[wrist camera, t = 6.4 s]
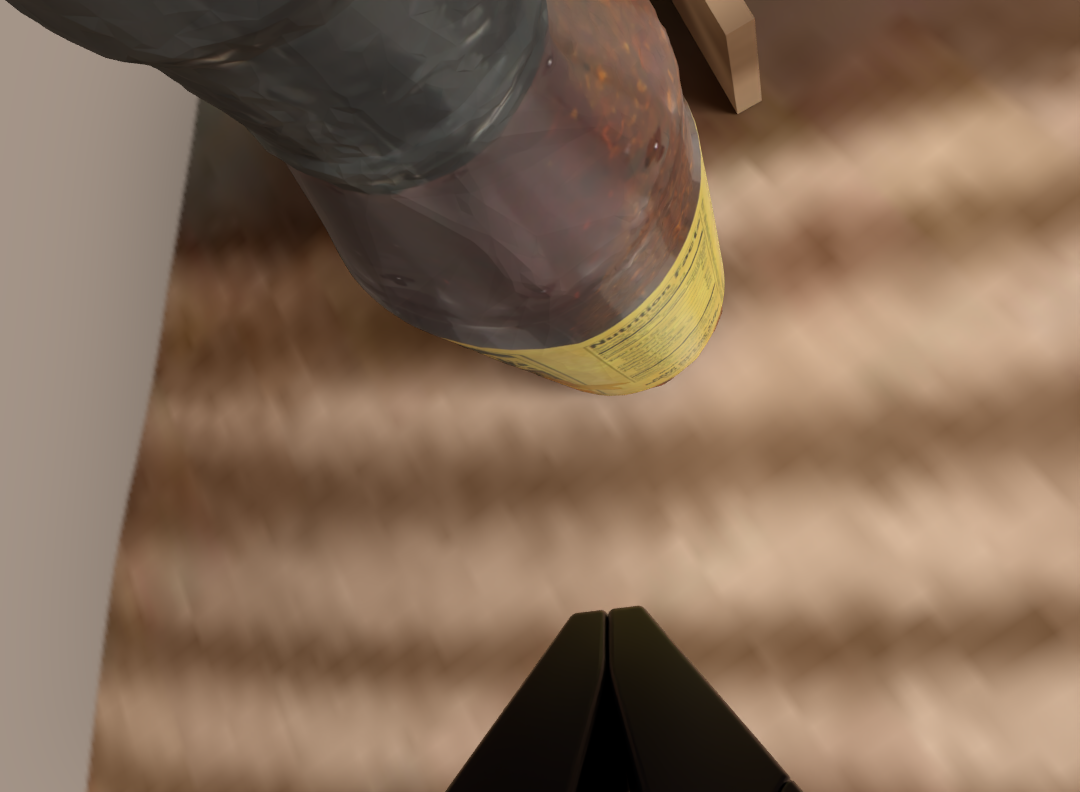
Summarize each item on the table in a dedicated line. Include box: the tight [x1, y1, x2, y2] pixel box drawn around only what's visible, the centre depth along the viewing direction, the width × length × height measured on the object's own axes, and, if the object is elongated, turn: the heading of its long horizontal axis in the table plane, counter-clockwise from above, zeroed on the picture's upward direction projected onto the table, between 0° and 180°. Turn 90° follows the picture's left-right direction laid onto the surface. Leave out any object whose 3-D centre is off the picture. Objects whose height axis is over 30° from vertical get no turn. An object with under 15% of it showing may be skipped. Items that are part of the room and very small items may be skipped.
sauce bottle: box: [6, 0, 724, 396], centre depth 14 cm, size 7×6×20 cm
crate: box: [672, 0, 762, 114], centre depth 24 cm, size 12×13×4 cm
